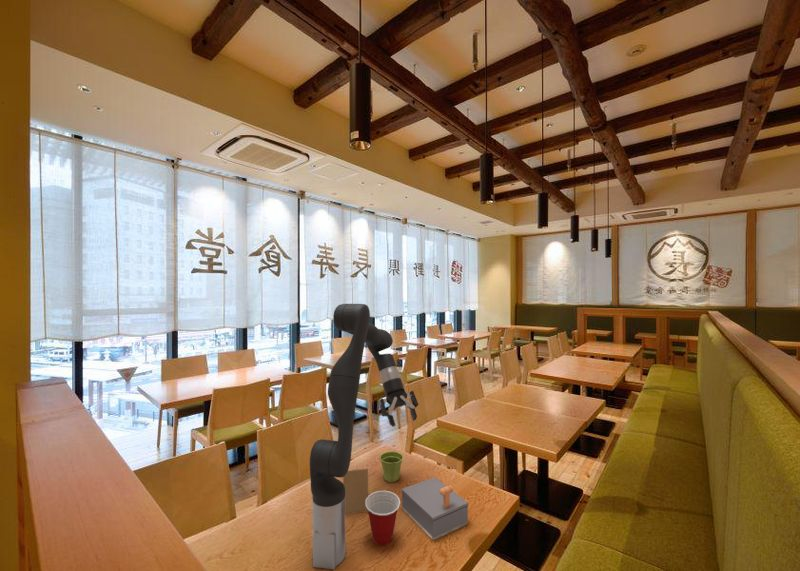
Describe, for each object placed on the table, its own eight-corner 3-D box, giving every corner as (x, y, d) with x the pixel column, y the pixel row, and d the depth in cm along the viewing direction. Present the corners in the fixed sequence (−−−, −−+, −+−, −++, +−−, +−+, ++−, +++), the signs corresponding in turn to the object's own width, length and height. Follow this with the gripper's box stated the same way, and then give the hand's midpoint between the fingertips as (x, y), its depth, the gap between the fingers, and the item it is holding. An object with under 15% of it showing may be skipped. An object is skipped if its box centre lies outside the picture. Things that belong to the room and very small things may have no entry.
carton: (467, 524, 118) (467, 506, 118) (433, 540, 111) (433, 521, 110) (434, 496, 133) (434, 480, 133) (402, 508, 126) (402, 491, 126)
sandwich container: (364, 486, 140) (364, 448, 139) (368, 511, 125) (368, 468, 124) (341, 489, 138) (341, 450, 138) (343, 514, 123) (343, 471, 123)
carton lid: (468, 505, 118) (468, 483, 118) (432, 520, 110) (432, 497, 110) (434, 479, 133) (434, 460, 133) (401, 491, 126) (401, 471, 126)
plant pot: (402, 485, 140) (402, 463, 140) (378, 484, 141) (378, 462, 141) (403, 472, 150) (403, 451, 150) (380, 471, 150) (380, 451, 150)
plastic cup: (368, 555, 105) (368, 514, 104) (362, 530, 115) (362, 493, 115) (404, 548, 107) (404, 508, 107) (395, 524, 118) (395, 488, 118)
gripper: (376, 381, 134) (389, 426, 127) (410, 373, 140) (425, 415, 132) (371, 388, 140) (384, 430, 133) (405, 379, 146) (418, 420, 138)
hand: (404, 423), depth 132 cm, fingers open, 8 cm apart
